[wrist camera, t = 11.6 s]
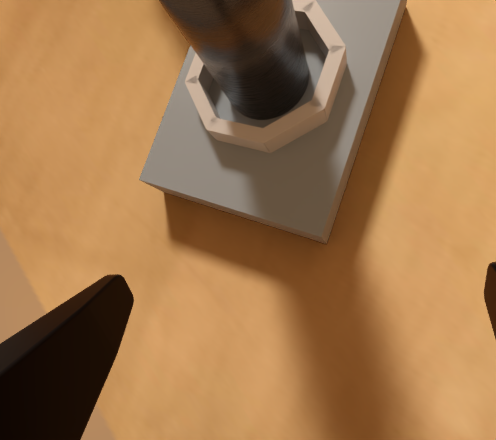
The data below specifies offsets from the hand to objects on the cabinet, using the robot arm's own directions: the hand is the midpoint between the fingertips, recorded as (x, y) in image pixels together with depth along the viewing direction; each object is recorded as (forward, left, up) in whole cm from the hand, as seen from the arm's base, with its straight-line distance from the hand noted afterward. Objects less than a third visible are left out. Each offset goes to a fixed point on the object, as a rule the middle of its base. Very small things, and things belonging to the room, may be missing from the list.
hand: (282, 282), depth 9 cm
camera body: (+10, +7, -13) cm, 18 cm away
